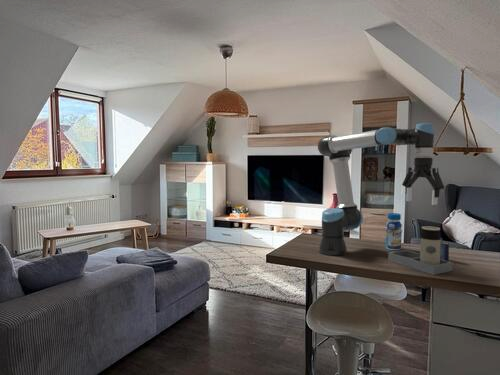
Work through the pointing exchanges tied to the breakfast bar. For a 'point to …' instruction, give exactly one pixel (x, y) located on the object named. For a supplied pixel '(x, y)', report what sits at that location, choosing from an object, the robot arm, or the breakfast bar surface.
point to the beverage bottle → (393, 232)
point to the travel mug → (430, 245)
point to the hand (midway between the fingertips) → (421, 202)
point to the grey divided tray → (418, 262)
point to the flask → (444, 250)
